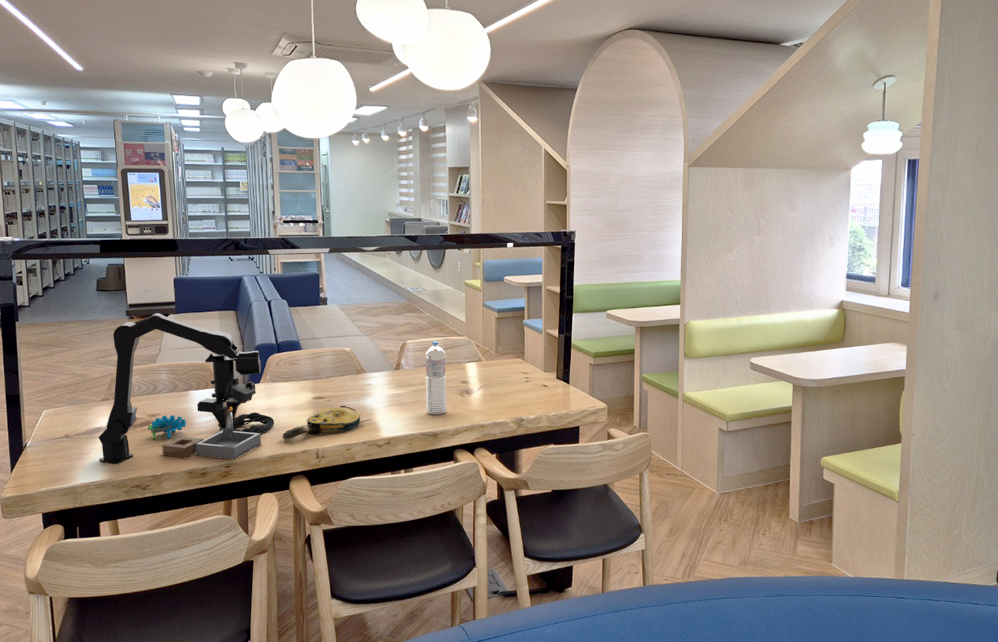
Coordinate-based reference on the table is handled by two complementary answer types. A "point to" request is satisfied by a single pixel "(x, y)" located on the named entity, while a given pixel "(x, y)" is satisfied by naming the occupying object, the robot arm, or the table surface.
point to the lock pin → (228, 426)
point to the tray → (228, 445)
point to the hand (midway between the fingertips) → (227, 426)
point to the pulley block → (328, 422)
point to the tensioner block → (181, 447)
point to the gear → (166, 425)
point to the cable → (252, 417)
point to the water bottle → (435, 380)
